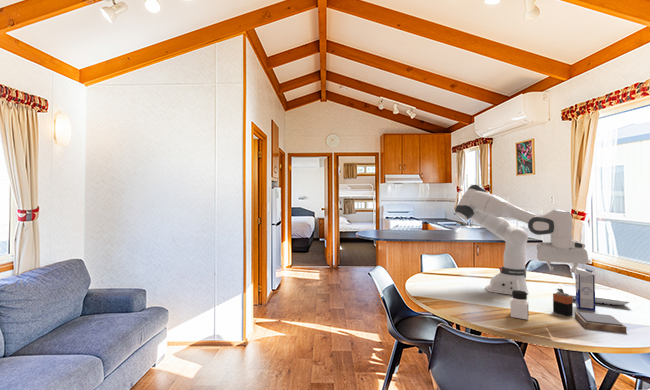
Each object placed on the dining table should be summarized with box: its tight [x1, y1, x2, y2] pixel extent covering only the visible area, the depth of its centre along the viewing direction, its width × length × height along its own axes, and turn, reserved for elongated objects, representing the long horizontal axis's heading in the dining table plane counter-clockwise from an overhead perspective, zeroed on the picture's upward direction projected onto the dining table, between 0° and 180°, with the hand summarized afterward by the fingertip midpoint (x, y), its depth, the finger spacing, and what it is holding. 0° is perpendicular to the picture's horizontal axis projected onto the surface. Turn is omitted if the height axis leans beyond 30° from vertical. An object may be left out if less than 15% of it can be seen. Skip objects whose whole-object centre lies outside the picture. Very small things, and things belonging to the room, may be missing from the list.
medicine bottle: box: [510, 290, 529, 321], centre depth 158 cm, size 7×7×12 cm
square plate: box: [557, 283, 630, 306], centre depth 188 cm, size 27×27×4 cm
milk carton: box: [575, 266, 596, 312], centre depth 169 cm, size 7×7×20 cm
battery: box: [552, 291, 574, 317], centre depth 161 cm, size 4×7×10 cm, turn 21°
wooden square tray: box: [574, 311, 627, 334], centre depth 147 cm, size 14×14×3 cm
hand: (561, 271), depth 161 cm, fingers open, 7 cm apart
